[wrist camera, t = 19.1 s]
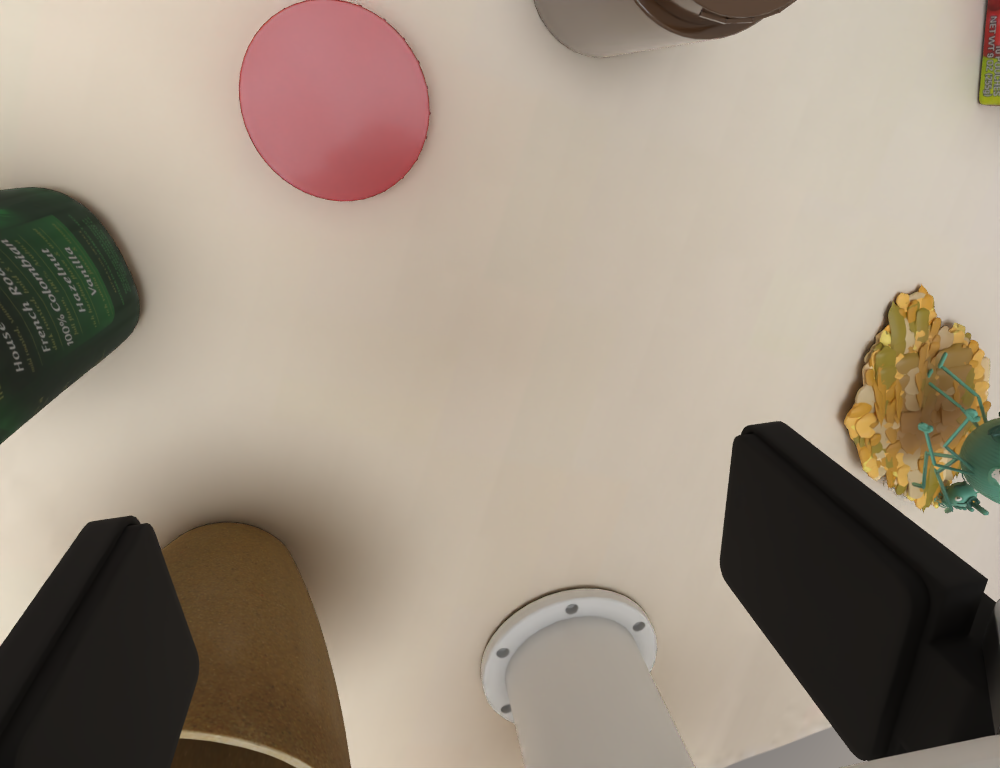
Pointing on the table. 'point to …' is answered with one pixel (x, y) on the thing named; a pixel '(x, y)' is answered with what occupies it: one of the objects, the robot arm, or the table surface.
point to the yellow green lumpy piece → (927, 410)
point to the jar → (648, 22)
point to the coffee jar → (55, 299)
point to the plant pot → (253, 656)
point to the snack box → (991, 57)
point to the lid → (334, 100)
